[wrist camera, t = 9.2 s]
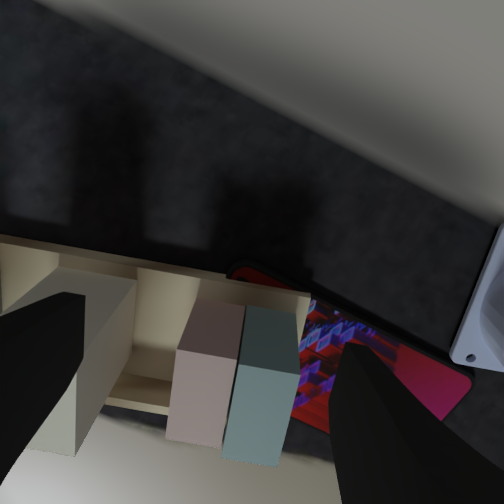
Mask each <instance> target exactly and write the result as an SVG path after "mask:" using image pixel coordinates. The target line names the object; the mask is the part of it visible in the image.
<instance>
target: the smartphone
mask: <svg viewBox="0 0 504 504" xmlns="http://www.w3.org/2000/svg"><path fill="white" fill-rule="evenodd" d="M226 279H229V280H236V281H241V282H247V283H253V284H259V285H265V286H270V287H276V288H282V289H288V290H293V291H299V292H305V293H310V295H311V300H310V304H309V308H308V312H307V316H306V320H305V324H304V328H303V333H302V337H301V341H300V345H299V360H300V373H301V376H300V380H299V384H298V388H297V392H296V395H295V399H294V403H293V407H292V411H291V415H290V419H293V420H295V421H297V422H299V423H301V424H303V425H306V426H308V427H310V428H312V429H314V430H317V431H319V432H321V433H323V434H325V435H327V436H330V432H329V414H328V399H329V396H330V393H331V389H332V386H333V382H334V379H335V375H336V372H337V369H338V365H339V362H340V358H341V355H342V351H343V348H344V345H345V342H350V343H356V344H362V345H367V346H368V347H369V348H370V349H372V351H373V352H374V353H375V354H376V355H377V356H378V357H379V358H380V359H381V360H382V361H383V362H384V363H385V365H386V366H387V367H388V368H389V369H390V370H391V371H392V372H393V373H394V374H395V376H396V377H397V378H398V379H399V380H400V381H401V382H402V383H403V384H404V385H405V386H406V387H407V388H408V389H409V390H410V391H411V393H412V394H413V395H414V396H415V397H416V398H417V399H418V400H419V401H420V402H421V403H422V404H423V405H424V406H425V407H427V408H428V409H429V410H430V411H431V412H432V413H433V414H434V415H435V416H436V417H437V418H438V419H439V420H440V421H441V422H442V423H443V422H444V421H445V420H446V419H447V418H448V417H449V416H450V414H451V413H452V412H453V411H454V410H455V409H456V408H457V407H458V406H459V405H460V404H461V402H462V401H463V400H464V399H465V398H466V397H467V396H468V395H469V394H470V393H471V391H472V390H473V388H474V386H475V379H474V377H473V375H472V374H471V372H470V371H469V370H467V369H466V368H464V367H462V366H460V365H458V364H456V363H454V362H452V361H450V360H448V359H446V358H444V357H442V356H440V355H438V354H436V353H434V352H432V351H431V350H429V349H427V348H425V347H423V346H421V345H419V344H417V343H415V342H413V341H411V340H409V339H407V338H405V337H403V336H401V335H399V334H397V333H395V332H394V331H392V330H390V329H388V328H386V327H384V326H382V325H380V324H378V323H376V322H374V320H372V319H370V318H368V317H366V316H364V315H362V314H360V313H358V312H355V311H353V310H351V309H349V308H347V307H345V306H343V305H341V304H339V303H337V302H335V301H333V300H331V299H329V298H327V297H325V296H324V295H322V294H320V293H318V292H316V291H314V290H312V289H310V288H308V287H306V286H304V285H303V284H301V283H299V282H297V281H295V280H292V279H290V278H288V277H287V276H285V275H283V274H281V273H279V272H277V271H275V270H273V269H271V268H269V267H267V266H265V265H263V264H261V263H259V262H257V261H255V260H253V259H249V258H244V259H240V260H237V261H236V262H234V263H233V264H232V265H231V267H230V269H229V270H228V272H227V274H226Z"/></svg>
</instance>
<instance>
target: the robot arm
mask: <svg viewBox="0 0 504 504" xmlns="http://www.w3.org/2000/svg"><path fill="white" fill-rule="evenodd" d="M85 300H86V295H81V294H75V293H70V292H60V293H57V294H54V295H51V296H49V297H46V298H44V299H41V300H39V301H36V302H34V303H31V304H29V305H27V306H24V307H22V308H19V309H17V310H14V311H12V312H9V313H7V314H5V315H2V316H0V485H1V484H2V482H3V480H4V478H5V477H6V475H7V474H8V472H9V471H10V469H11V467H12V466H13V465H14V463H15V462H16V460H17V458H18V457H19V456H20V454H21V453H22V452H23V450H24V449H25V448H26V446H27V445H28V443H29V442H30V441H31V439H32V438H33V436H34V435H35V434H36V432H37V431H38V429H39V428H40V427H41V425H42V424H43V423H44V421H45V420H46V418H47V417H48V416H49V414H50V413H51V411H52V410H53V409H54V407H55V406H56V404H57V403H58V402H59V400H60V399H61V397H62V396H63V394H64V393H65V392H66V390H67V389H68V387H69V385H70V383H71V381H72V380H73V378H74V376H75V374H76V372H77V370H78V368H79V366H80V364H81V362H82V360H83V358H84V332H85ZM469 354H473V355H472V356H471V357H470V358H466V357H467V355H469ZM449 355H450V358H451V359H452V361H453V362H454V363H457V364H461V365H467V366H473V367H478V368H484V369H489V370H495V371H501V372H504V222H503V223H502V224H501V225H500V227H499V229H498V231H497V234H496V236H495V239H494V241H493V244H492V246H491V249H490V251H489V254H488V257H487V259H486V262H485V264H484V267H483V269H482V272H481V274H480V277H479V279H478V282H477V284H476V287H475V289H474V292H473V294H472V297H471V299H470V302H469V304H468V307H467V309H466V312H465V314H464V317H463V319H462V322H461V324H460V327H459V329H458V332H457V334H456V337H455V339H454V342H453V344H452V347H451V349H450V353H449ZM328 414H329V432H330V440H331V446H332V451H333V457H334V463H335V468H336V473H337V479H338V484H339V490H340V495H341V500H342V504H504V471H503V470H502V469H500V468H499V467H497V466H496V465H495V464H493V463H492V462H490V461H489V460H488V459H486V458H485V457H484V456H482V455H481V454H480V453H478V452H477V451H476V450H475V449H473V448H472V447H471V446H470V445H469V444H467V443H466V442H465V441H464V440H462V439H461V438H460V437H459V436H458V435H456V434H455V433H454V432H453V431H452V430H450V429H449V428H448V427H447V426H446V425H445V424H444V423H442V422H441V421H440V420H439V419H438V418H437V417H436V416H435V415H434V414H433V413H432V412H431V411H430V410H429V409H428V408H427V407H425V406H424V405H423V404H422V403H421V402H420V401H419V400H418V399H417V398H416V397H415V396H414V395H413V394H412V393H411V391H410V390H409V389H408V388H407V387H406V386H405V385H404V384H403V383H402V382H401V381H400V380H399V379H398V378H397V377H396V376H395V374H394V373H393V372H392V371H391V370H390V369H389V368H388V367H387V366H386V365H385V363H384V362H383V361H382V360H381V359H380V358H379V357H378V356H377V355H376V354H375V353H374V352H373V351H372V349H370V348H369V347H368V346H367V345H362V344H356V343H350V342H345V345H344V348H343V351H342V355H341V358H340V362H339V365H338V369H337V372H336V375H335V379H334V382H333V386H332V389H331V393H330V396H329V399H328Z"/></svg>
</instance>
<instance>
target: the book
mask: <svg viewBox="0 0 504 504" xmlns="http://www.w3.org/2000/svg"><path fill="white" fill-rule="evenodd" d="M136 290H137V280H134V279H128V278H122V277H117V276H111V275H105V274H99V273H94V272H88V271H82V270H77V269H71V268H65V267H60V266H58V267H57V268H56V269H55V270H53V271H52V272H51V273H50V274H49V275H47V276H46V277H45V278H44V279H43V280H41V281H40V282H39V283H38V284H36V285H35V286H34V287H33V288H32V289H30V290H29V291H28V292H27V293H26V294H24V295H23V296H22V297H21V298H19V299H18V300H17V301H16V302H15V303H13V304H12V305H11V306H10V307H9V308H7V309H6V310H5V311H4V312H2V313H1V314H0V316H2V315H5V314H7V313H9V312H12V311H14V310H17V309H19V308H22V307H24V306H27V305H29V304H31V303H34V302H36V301H39V300H41V299H44V298H46V297H49V296H51V295H54V294H57V293H60V292H70V293H75V294H81V295H86V300H85V332H84V358H83V360H82V362H81V364H80V366H79V368H78V370H77V372H76V374H75V376H74V378H73V380H72V381H71V383H70V385H69V387H68V389H67V390H66V392H65V393H64V394H63V396H62V397H61V399H60V400H59V402H58V403H57V404H56V406H55V407H54V409H53V410H52V411H51V413H50V414H49V416H48V417H47V418H46V420H45V421H44V423H43V424H42V425H41V427H40V428H39V429H38V431H37V432H36V434H35V435H34V436H33V438H32V439H31V441H30V442H29V443H28V445H27V446H26V448H27V449H33V450H39V451H45V452H51V453H56V454H62V455H68V456H73V457H75V455H76V453H77V452H78V450H79V448H80V446H81V445H82V443H83V441H84V439H85V437H86V435H87V434H88V432H89V430H90V428H91V426H92V424H93V423H94V421H95V419H96V417H97V415H98V414H99V412H100V410H101V408H102V406H103V404H104V403H105V401H106V399H107V397H108V395H109V393H110V392H111V390H112V388H113V386H114V384H115V383H116V381H117V379H118V377H119V375H120V373H121V372H122V370H123V368H124V366H125V364H126V363H127V361H128V359H129V357H130V355H131V353H132V342H133V329H134V316H135V303H136Z"/></svg>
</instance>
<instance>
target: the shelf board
mask: <svg viewBox="0 0 504 504" xmlns="http://www.w3.org/2000/svg"><path fill="white" fill-rule="evenodd" d="M58 266H60V267H65V268H71V269H77V270H82V271H88V272H94V273H99V274H105V275H111V276H117V277H122V278H128V279H134V280H137V290H136V303H135V316H134V329H133V342H132V353H131V355H130V357H129V359H128V361H127V363H126V364H125V366H124V368H123V370H122V372H121V373H120V375H119V377H118V379H117V381H116V383H115V384H114V386H113V388H112V390H111V392H110V393H109V395H108V397H107V399H106V401H105V403H104V404H107V405H113V406H118V407H124V408H130V409H135V410H141V411H147V412H152V413H158V414H164V415H168V414H169V406H170V398H171V390H172V382H173V373H174V365H175V357H176V349H177V347H178V344H179V341H180V339H181V336H182V334H183V331H184V329H185V326H186V323H187V321H188V318H189V316H190V313H191V310H192V308H193V305H194V303H195V300H196V298H201V299H207V300H213V301H218V302H224V303H229V304H235V305H241V306H245V310H244V317H243V323H242V330H241V336H242V331H243V326H244V320H245V315H246V310H247V305H251V306H256V307H262V308H267V309H273V310H279V311H284V312H290V313H295V314H296V320H297V333H298V346H299V345H300V341H301V337H302V333H303V328H304V324H305V320H306V316H307V312H308V308H309V304H310V300H311V295H310V293H305V292H299V291H293V290H288V289H282V288H276V287H270V286H265V285H259V284H253V283H247V282H241V281H236V280H229V279H226V274H221V273H215V272H210V271H204V270H199V269H193V268H188V267H182V266H176V265H171V264H165V263H160V262H154V261H148V260H143V259H137V258H132V257H126V256H120V255H115V254H109V253H104V252H98V251H92V250H87V249H81V248H76V247H70V246H65V245H59V244H53V243H48V242H42V241H37V240H31V239H25V238H20V237H14V236H9V235H3V234H0V270H1V291H2V312H4V311H5V310H6V309H7V308H9V307H10V306H11V305H12V304H13V303H15V302H16V301H17V300H18V299H19V298H21V297H22V296H23V295H24V294H26V293H27V292H28V291H29V290H30V289H32V288H33V287H34V286H35V285H36V284H38V283H39V282H40V281H41V280H43V279H44V278H45V277H46V276H47V275H49V274H50V273H51V272H52V271H53V270H55V269H56V268H57V267H58ZM240 342H241V337H240ZM239 347H240V343H239ZM238 352H239V350H238ZM237 358H238V356H237ZM236 363H237V362H236ZM234 374H235V373H234ZM233 379H234V378H233ZM231 391H232V389H231ZM230 397H231V395H230ZM229 404H230V400H229ZM228 410H229V405H228ZM227 417H228V411H227V416H226V421H225V425H226V423H227Z"/></svg>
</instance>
